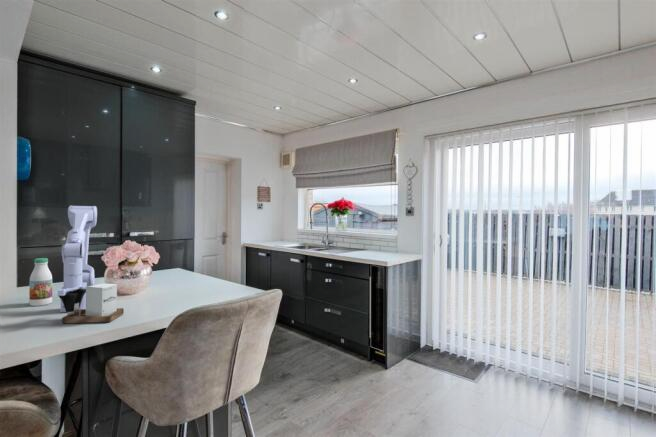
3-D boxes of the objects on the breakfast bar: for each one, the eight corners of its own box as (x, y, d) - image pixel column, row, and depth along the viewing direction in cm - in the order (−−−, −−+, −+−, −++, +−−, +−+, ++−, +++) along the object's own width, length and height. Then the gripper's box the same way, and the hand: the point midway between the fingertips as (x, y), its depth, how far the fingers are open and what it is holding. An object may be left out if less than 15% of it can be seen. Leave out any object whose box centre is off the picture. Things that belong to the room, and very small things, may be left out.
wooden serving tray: (60, 323, 124) (60, 307, 124) (78, 314, 135) (78, 300, 134) (109, 321, 126) (109, 306, 126) (123, 313, 137) (123, 299, 137)
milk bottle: (25, 305, 147) (25, 259, 147) (45, 301, 154) (45, 257, 154) (35, 307, 144) (36, 260, 144) (56, 303, 151) (56, 258, 151)
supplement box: (101, 321, 126) (101, 287, 126) (84, 320, 128) (85, 286, 127) (117, 315, 133) (117, 283, 133) (101, 314, 135) (101, 282, 135)
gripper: (72, 278, 122) (72, 315, 123) (95, 271, 137) (94, 304, 137) (51, 278, 121) (51, 316, 122) (75, 271, 136) (75, 305, 136)
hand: (72, 310), depth 129 cm, fingers open, 3 cm apart
